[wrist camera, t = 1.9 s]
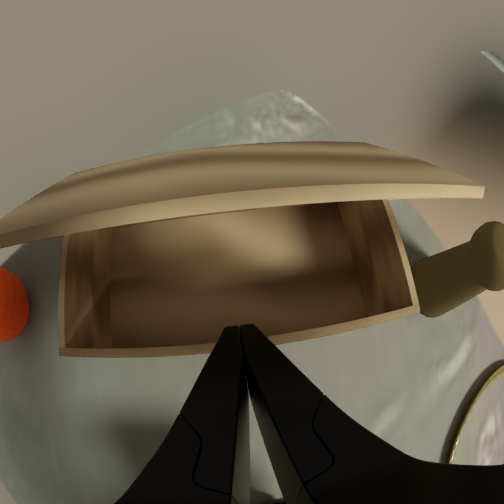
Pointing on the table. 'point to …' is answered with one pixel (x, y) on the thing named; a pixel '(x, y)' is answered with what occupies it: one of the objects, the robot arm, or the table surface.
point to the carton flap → (227, 185)
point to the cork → (461, 271)
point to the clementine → (12, 305)
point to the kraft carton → (232, 278)
